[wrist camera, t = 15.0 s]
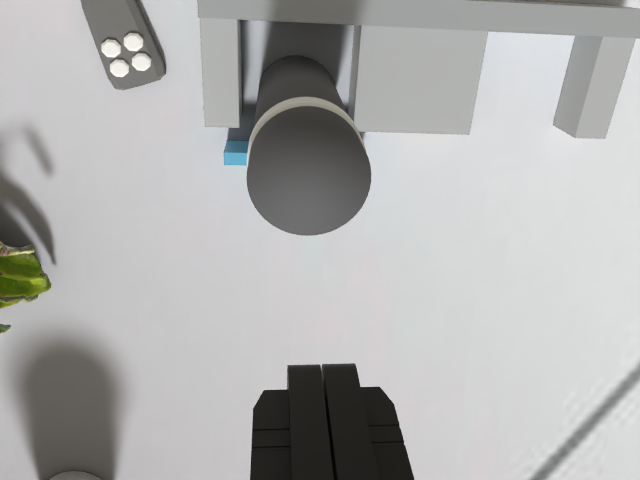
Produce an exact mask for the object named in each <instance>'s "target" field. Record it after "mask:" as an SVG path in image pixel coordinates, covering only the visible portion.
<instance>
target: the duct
mask: <svg viewBox="0 0 640 480" xmlns="http://www.w3.org/2000/svg"><path fill="white" fill-rule="evenodd" d="M197 3H198V18H200V38H201V58H202V79H203V99H204V119H205V127H226V128H239V127H240V122H241V118H242V78H241V20H260V21H281V22H302V23H323V24H344V25H354V35H353V49H352V62H351V75H350V89H349V102H348V115H349V117H350V118H351V119H352V120H353V122H354V124H355V125H356V127H357V129H358V131H360V132H394V133H427V134H461V135H469V133H470V128H471V123H472V117H473V112H474V106H475V101H476V95H477V90H478V84H479V79H480V73H481V68H482V63H483V57H484V52H485V46H486V41H487V35H488V31H492V32H513V33H534V34H555V35H576V36H575V40H574V44H573V48H572V52H571V56H570V60H569V64H568V68H567V72H566V76H565V79H564V83H563V87H562V91H561V95H560V99H559V103H558V107H557V111H556V115H555V119H554V123H553V125H554V126H556V127H557V128H559V129H561V130H562V131H564V132H566V133H567V134H569V135H571V136H573V137H574V138H595V139H605V138H606V135H607V132H608V128H609V125H610V122H611V118H612V115H613V112H614V109H615V105H616V102H617V99H618V95H619V92H620V89H621V86H622V82H623V79H624V76H625V72H626V69H627V66H628V63H629V59H630V56H631V53H632V49H633V46H634V43H635V39H636V38H640V9H639V8H631V7H623V6H615V5H597V4H578V3H559V2H541V1H522V0H197ZM248 145H249V141H231V140H227V143H226V146H225V150H224V165H247V151H248Z"/></svg>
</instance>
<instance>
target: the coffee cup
mask: <svg viewBox="0 0 640 480" xmlns="http://www.w3.org/2000/svg"><path fill="white" fill-rule="evenodd" d="M49 480H101V479H100V478H98V477H96V476H94V475H92V474H89V473H85V472H79V471H68V472H63V473H59V474H57V475H55V476H53V477H52V478H50V479H49Z"/></svg>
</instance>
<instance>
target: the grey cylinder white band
mask: <svg viewBox="0 0 640 480" xmlns="http://www.w3.org/2000/svg"><path fill="white" fill-rule="evenodd" d="M370 184H371V168H370V163H369V159H368V156H367V154H366V150H365V146H364V142H363V140H362V137H361V135H360V133H359V131H358V129H357V127H356V125H355V124H354V122H353V120H352V119H351V118H350V117H349V115H348V113H347V111H346V109H345V107H344V105H343V103H342V101H341V99H340V96H339V94H338V92H337V90H336V88H335V86H334V84H333V82H332V80H331V77H330V76H329V74H328V72H327V71H326V70H325V68H324V67H323V66H322V65H321V64H319V63H318V62H317V61H315V60H313V59H311V58H309V57H305V56H299V55H293V56H287V57H284V58H281V59H279V60H277V61H276V62H274V63H273V64H272V65H271V66H270V67H269V68H268V69H267V70H266V71H265V73H264V74H263V76H262V79H261V81H260V85H259V91H258V98H257V105H256V112H255V119H254V126H253V131H252V133H251V136H250V140H249V145H248V151H247V187H248V191H249V195H250V198H251V200H252V202H253V204H254V206H255V208H256V209H257V211H258V212H259V213H260V214H261V215H262V217H263V218H264V219H265V220H267V221H268V222H269V223H270V224H272V225H273V226H275V227H277V228H279V229H281V230H283V231H285V232H289V233H292V234H297V235H319V234H324V233H327V232H330V231H333V230H335V229H337V228H339V227H341V226H343V225H344V224H346V223H347V222H348V221H350V220H351V219H352V218H353V217H354V216H355V215H356V214H357V213H358V211H359V210H360V209H361V207H362V206H363V204H364V202H365V200H366V198H367V196H368V192H369V189H370Z"/></svg>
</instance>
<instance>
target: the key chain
mask: <svg viewBox="0 0 640 480" xmlns="http://www.w3.org/2000/svg"><path fill="white" fill-rule="evenodd" d="M81 3H82V8H83V11H84V14H85V16H86V19H87V22H88V25H89V27H90V30H91V33H92V36H93V39H94V41H95V44H96V47H97V49H98V52H99V55H100V57H101V60H102V63H103V66H104V68H105V71H106V74H107V76H108V79H109V80H110V82H111V83H112V85H113V86H114V88H115V89H119V90H126V89H130V88H134V87H138V86H142V85H145V84H148V83H151V82H154V81H157V80H160V79H161V78H162V77H163V76H164V75H165V74H166V71H165V65H164V61H163V59H162V57H161V54H160V52H159V50H158V48H157V45H156V43H155V41H154V39H153V36H152V34H151V32H150V30H149V27H148V25H147V23H146V21H145V19H144V16H143V14H142V12H141V10H140V8H139V5H138V3H137V1H136V0H81Z"/></svg>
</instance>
